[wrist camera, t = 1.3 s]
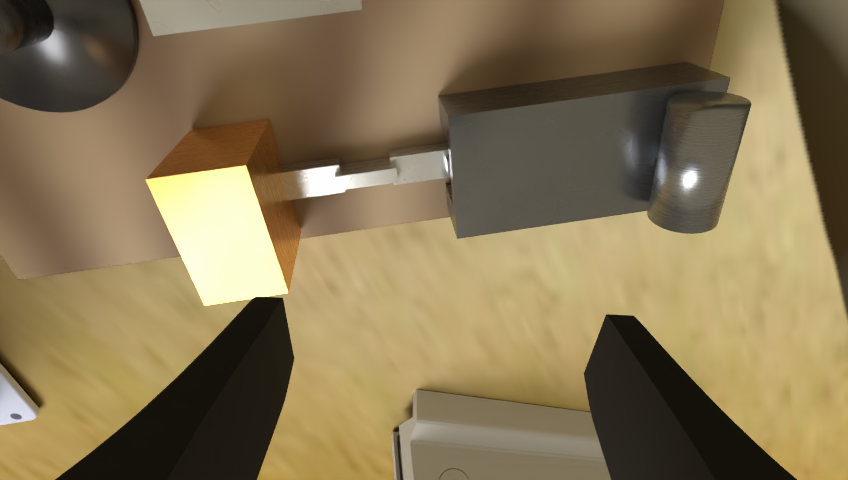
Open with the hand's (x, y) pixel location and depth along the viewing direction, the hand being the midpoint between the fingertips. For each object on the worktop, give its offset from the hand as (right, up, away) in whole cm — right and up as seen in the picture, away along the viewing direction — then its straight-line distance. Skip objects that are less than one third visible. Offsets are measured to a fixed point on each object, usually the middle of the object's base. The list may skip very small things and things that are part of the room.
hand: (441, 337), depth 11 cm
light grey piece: (+5, -11, +22) cm, 25 cm away
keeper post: (-13, +10, +5) cm, 17 cm away
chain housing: (+5, +6, +9) cm, 12 cm away
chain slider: (0, +6, +9) cm, 10 cm away
